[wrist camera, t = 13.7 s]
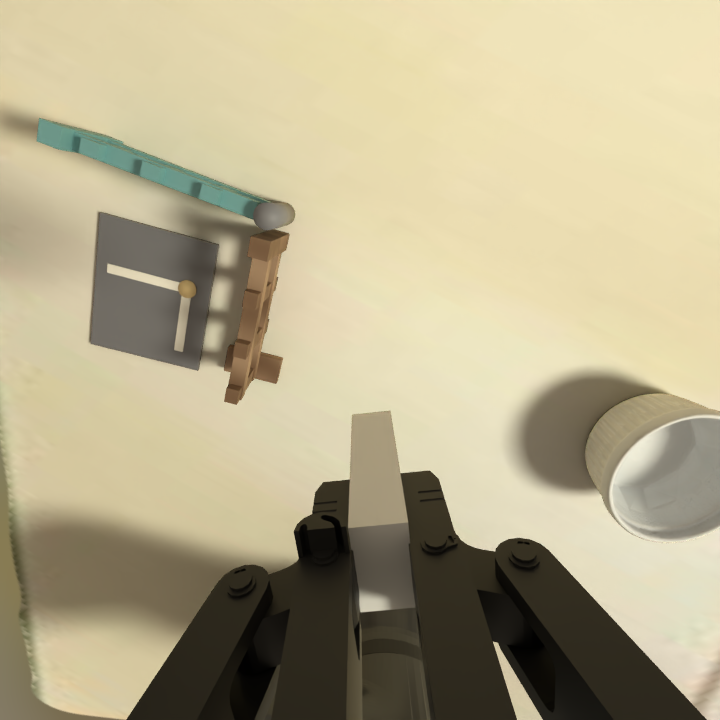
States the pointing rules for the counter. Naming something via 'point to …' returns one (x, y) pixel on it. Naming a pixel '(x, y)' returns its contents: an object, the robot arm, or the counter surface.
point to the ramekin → (658, 467)
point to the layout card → (152, 291)
